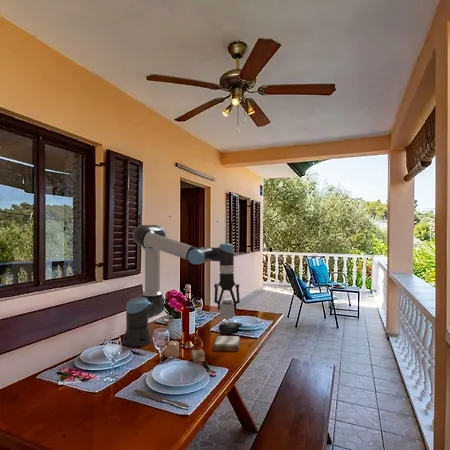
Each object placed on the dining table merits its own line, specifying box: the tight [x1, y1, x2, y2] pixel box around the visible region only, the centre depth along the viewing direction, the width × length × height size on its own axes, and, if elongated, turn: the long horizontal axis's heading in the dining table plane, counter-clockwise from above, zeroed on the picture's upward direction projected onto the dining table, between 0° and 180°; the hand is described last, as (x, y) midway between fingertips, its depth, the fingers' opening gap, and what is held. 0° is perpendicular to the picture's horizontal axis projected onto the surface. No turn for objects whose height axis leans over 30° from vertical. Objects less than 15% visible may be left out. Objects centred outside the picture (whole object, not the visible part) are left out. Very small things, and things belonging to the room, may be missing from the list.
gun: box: [218, 322, 243, 336], centre depth 185 cm, size 4×20×10 cm, turn 146°
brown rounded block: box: [164, 340, 180, 359], centre depth 153 cm, size 7×7×6 cm
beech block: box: [191, 348, 206, 363], centre depth 147 cm, size 5×5×4 cm
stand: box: [212, 335, 241, 352], centre depth 165 cm, size 13×13×3 cm
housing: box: [220, 300, 234, 320], centre depth 165 cm, size 7×6×8 cm
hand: (227, 316), depth 165 cm, fingers closed on housing, 6 cm apart
